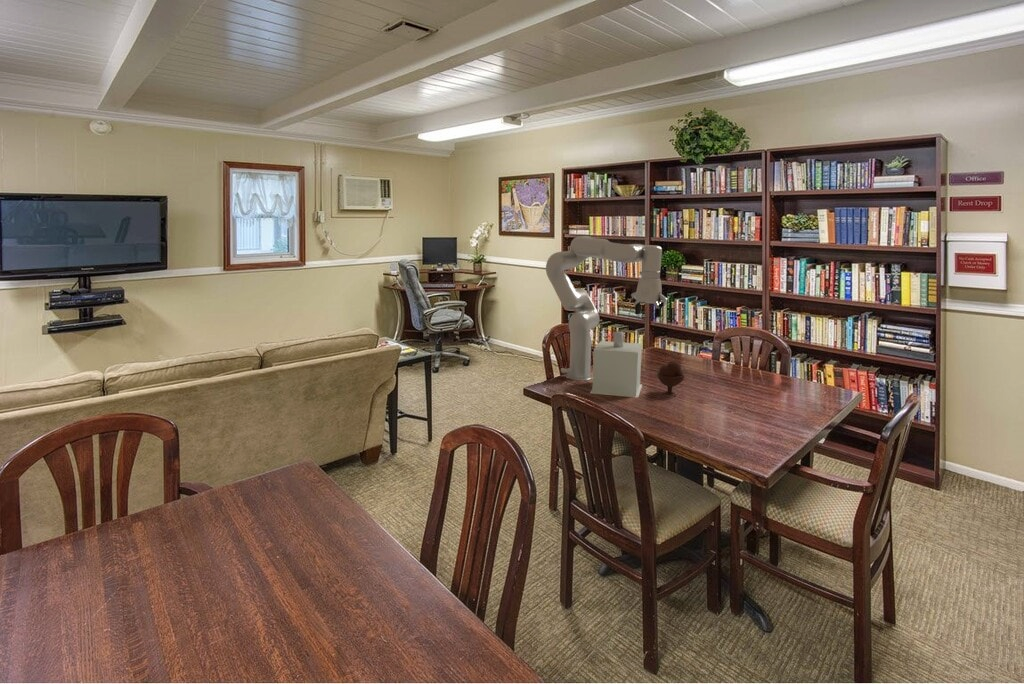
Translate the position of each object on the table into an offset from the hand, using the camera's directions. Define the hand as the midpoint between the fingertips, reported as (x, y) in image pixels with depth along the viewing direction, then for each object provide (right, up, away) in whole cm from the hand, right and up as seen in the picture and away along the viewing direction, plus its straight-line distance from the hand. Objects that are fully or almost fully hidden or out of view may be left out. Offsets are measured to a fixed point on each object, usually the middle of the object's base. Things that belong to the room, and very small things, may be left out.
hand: (647, 315), depth 242 cm
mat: (-12, -32, +4) cm, 35 cm away
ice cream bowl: (+9, -34, -3) cm, 35 cm away
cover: (-12, -31, +4) cm, 34 cm away
